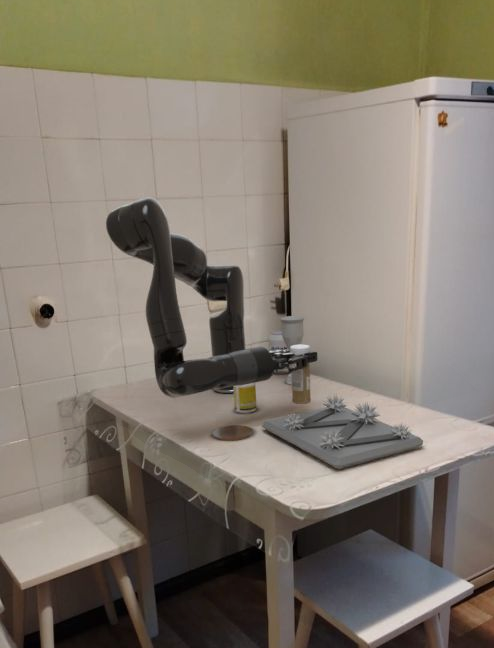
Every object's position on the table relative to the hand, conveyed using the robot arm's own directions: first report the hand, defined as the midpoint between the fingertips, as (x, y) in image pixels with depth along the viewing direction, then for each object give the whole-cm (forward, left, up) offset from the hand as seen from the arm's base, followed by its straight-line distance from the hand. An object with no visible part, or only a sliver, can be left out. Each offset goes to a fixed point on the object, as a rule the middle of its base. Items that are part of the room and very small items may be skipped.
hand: (309, 354), depth 149 cm
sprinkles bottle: (0, -3, -11) cm, 12 cm away
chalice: (-28, +9, -14) cm, 33 cm away
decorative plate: (+20, -4, -14) cm, 25 cm away
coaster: (+5, -22, -14) cm, 26 cm away
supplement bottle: (-10, -13, -14) cm, 22 cm away
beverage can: (-41, +11, -14) cm, 45 cm away
